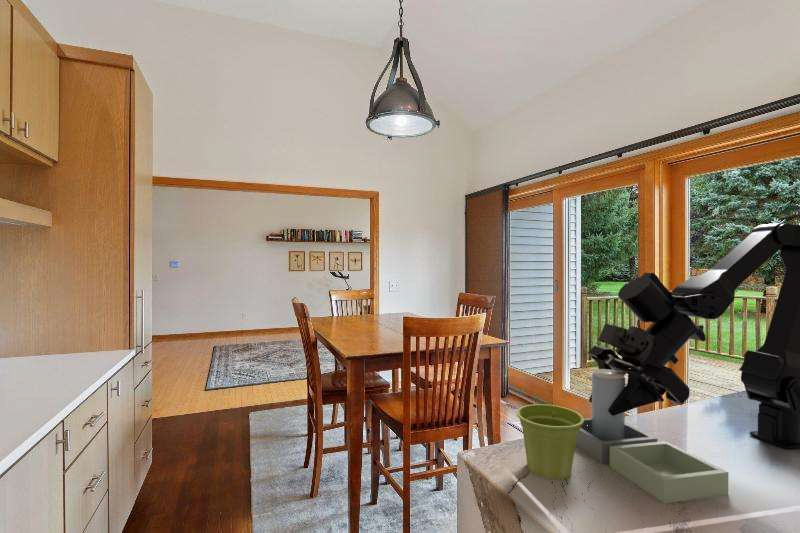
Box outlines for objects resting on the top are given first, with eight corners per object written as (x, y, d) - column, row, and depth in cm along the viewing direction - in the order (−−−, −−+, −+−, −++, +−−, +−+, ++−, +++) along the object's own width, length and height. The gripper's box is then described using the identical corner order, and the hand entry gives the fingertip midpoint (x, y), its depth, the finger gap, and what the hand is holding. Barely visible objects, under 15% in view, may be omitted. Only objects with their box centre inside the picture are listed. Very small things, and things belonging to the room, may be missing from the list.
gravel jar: (610, 439, 74) (610, 368, 74) (631, 451, 69) (632, 375, 69) (585, 441, 73) (585, 369, 73) (604, 454, 68) (605, 377, 68)
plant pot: (590, 492, 58) (590, 428, 58) (518, 484, 59) (519, 423, 59) (575, 461, 67) (576, 406, 67) (514, 455, 69) (514, 402, 69)
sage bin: (665, 463, 66) (665, 441, 66) (728, 498, 56) (728, 472, 56) (609, 469, 64) (609, 446, 64) (664, 507, 54) (664, 479, 54)
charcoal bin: (612, 435, 77) (612, 416, 77) (657, 460, 67) (657, 438, 67) (563, 439, 75) (563, 420, 75) (601, 466, 65) (601, 443, 65)
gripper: (597, 303, 81) (542, 362, 79) (672, 314, 62) (602, 391, 61) (635, 343, 82) (581, 402, 80) (720, 366, 63) (652, 443, 62)
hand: (600, 407), depth 71 cm, fingers closed on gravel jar, 5 cm apart
